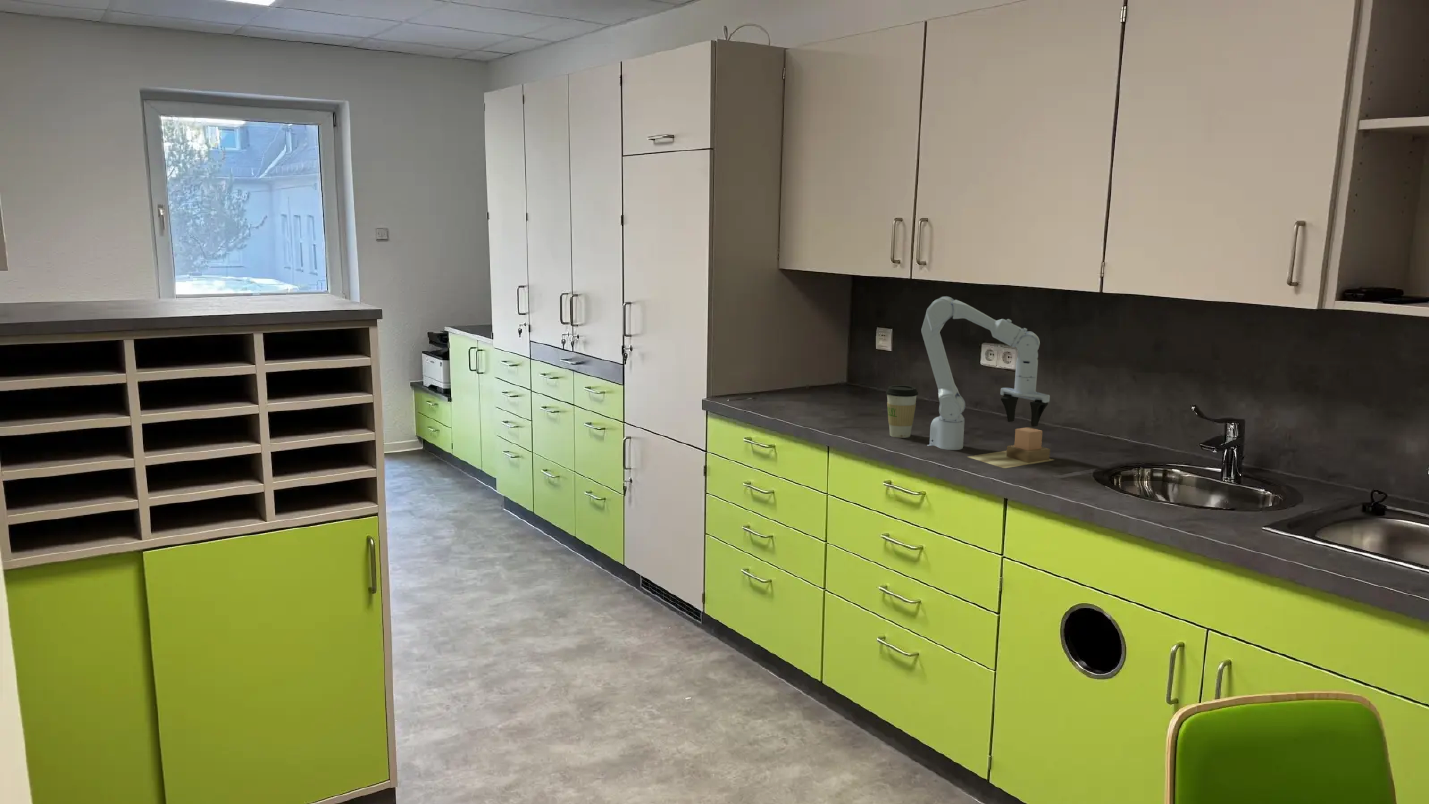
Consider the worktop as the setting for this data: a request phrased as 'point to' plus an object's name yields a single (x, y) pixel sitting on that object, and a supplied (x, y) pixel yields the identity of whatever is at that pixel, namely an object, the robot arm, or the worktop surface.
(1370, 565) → the worktop surface
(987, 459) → the stacking base
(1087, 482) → the worktop surface
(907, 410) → the coffee cup
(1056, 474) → the worktop surface
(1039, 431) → the cube
